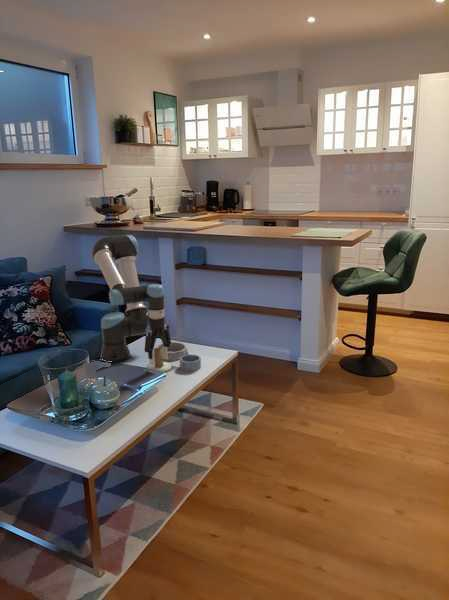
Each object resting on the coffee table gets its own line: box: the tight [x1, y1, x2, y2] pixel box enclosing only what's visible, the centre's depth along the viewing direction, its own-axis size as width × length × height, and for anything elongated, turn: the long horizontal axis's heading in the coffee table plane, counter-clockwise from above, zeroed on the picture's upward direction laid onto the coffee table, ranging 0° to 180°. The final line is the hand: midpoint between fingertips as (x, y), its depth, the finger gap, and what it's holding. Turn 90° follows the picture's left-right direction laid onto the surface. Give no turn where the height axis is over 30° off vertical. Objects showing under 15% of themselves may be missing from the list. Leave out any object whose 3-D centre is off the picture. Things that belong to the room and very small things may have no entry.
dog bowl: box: [155, 341, 189, 362], centre depth 251 cm, size 17×18×5 cm
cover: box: [146, 347, 173, 373], centre depth 233 cm, size 12×12×10 cm
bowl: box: [179, 354, 202, 372], centre depth 234 cm, size 10×10×6 cm
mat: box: [145, 364, 179, 374], centre depth 234 cm, size 13×13×1 cm
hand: (158, 361), depth 233 cm, fingers open, 8 cm apart
